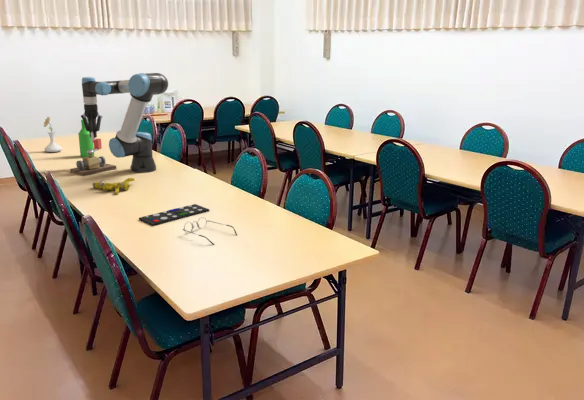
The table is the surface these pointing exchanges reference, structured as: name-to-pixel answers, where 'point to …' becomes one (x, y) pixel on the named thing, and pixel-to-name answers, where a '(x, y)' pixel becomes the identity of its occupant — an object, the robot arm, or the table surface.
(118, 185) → the yellow toy lizard
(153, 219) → the remote control
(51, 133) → the flower in vase
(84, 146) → the bottle
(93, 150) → the lever
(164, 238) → the table surface
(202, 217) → the eyeglasses
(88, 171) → the valve board
